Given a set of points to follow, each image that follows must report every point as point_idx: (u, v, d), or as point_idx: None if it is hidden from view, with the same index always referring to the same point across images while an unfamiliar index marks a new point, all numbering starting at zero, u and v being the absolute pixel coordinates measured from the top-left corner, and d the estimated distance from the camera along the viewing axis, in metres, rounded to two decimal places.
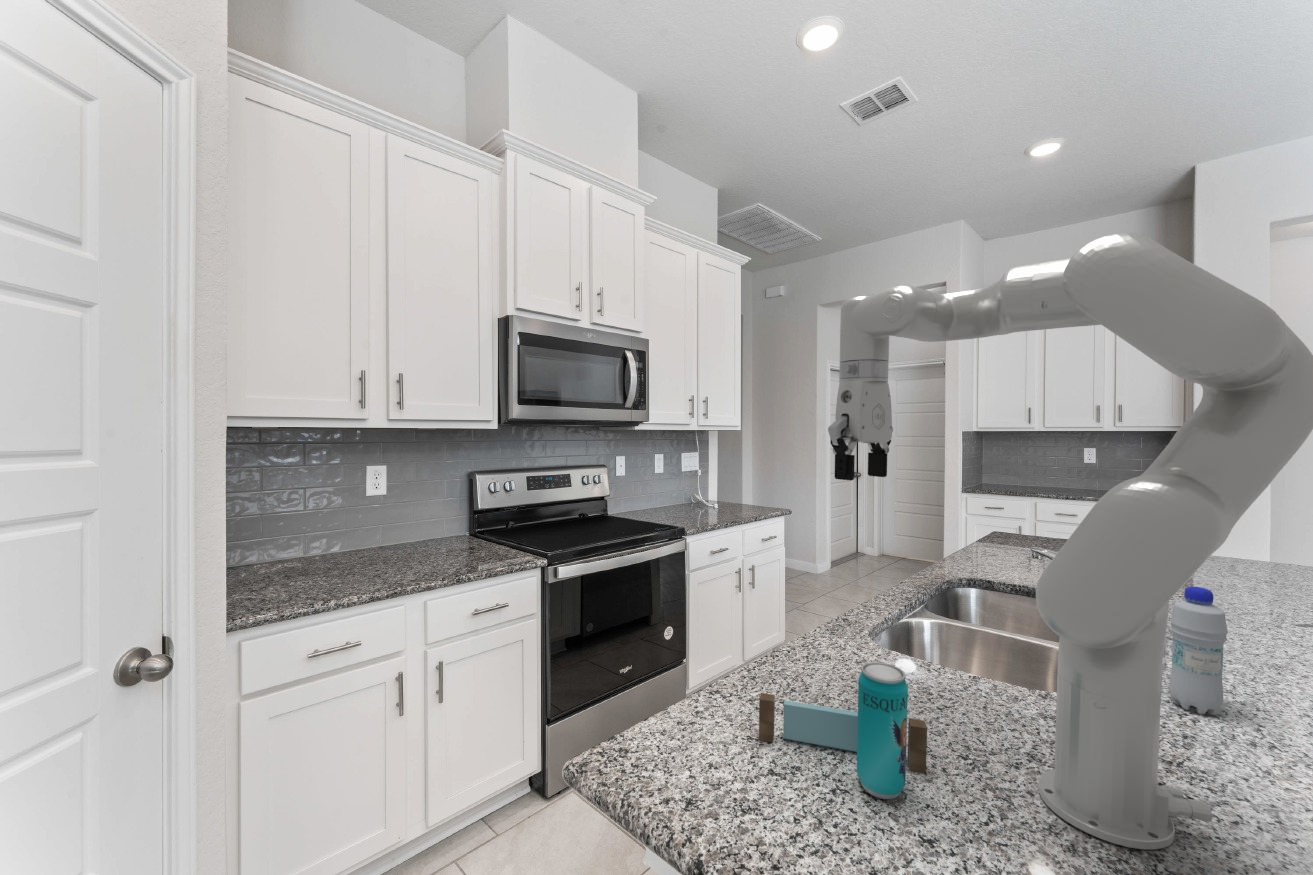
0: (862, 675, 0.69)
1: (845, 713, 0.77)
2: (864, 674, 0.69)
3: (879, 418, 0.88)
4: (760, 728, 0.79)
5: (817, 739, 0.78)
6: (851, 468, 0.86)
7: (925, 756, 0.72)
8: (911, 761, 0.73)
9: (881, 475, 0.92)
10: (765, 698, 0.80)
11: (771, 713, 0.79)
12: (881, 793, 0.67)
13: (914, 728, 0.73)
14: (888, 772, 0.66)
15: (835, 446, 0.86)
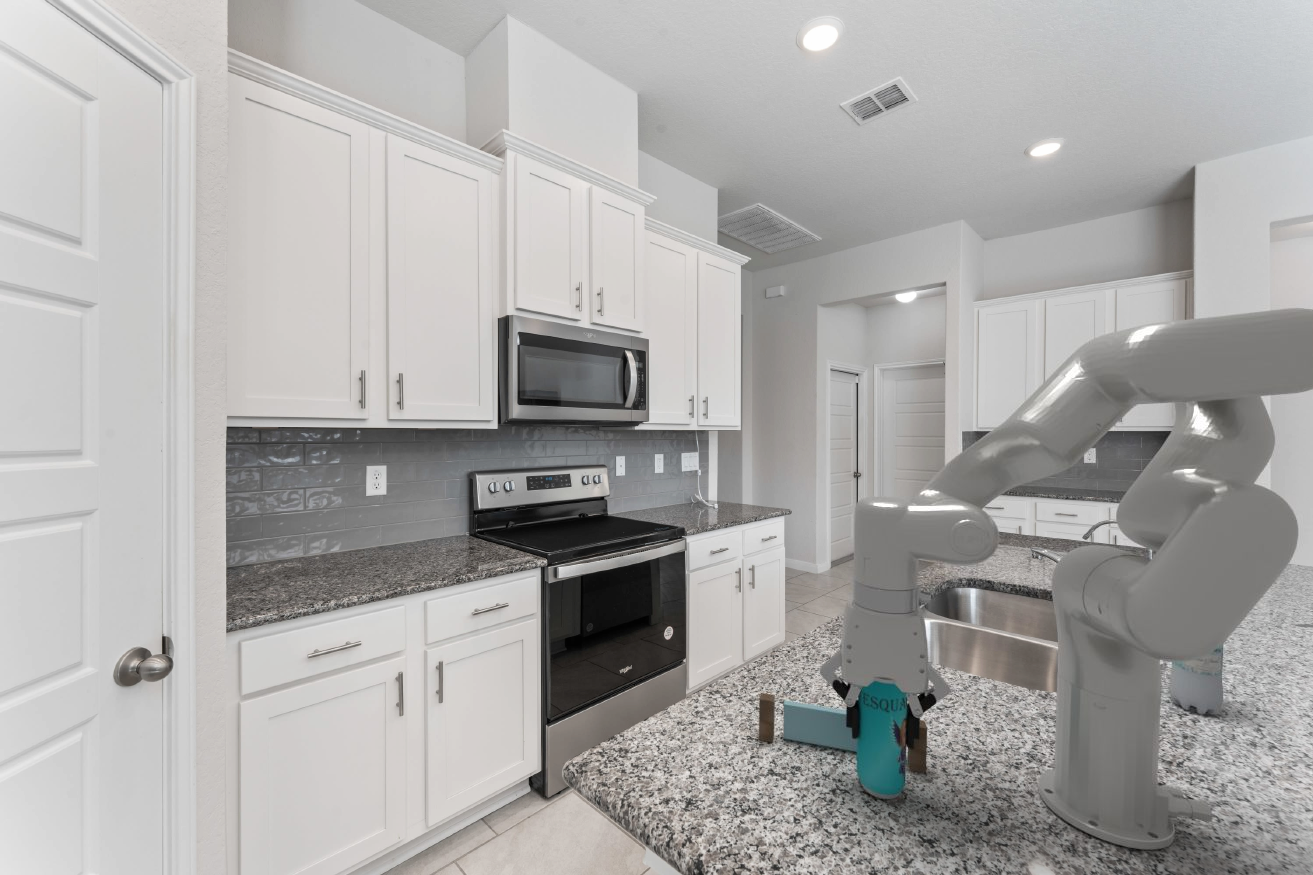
0: None
1: (845, 713, 0.77)
2: None
3: None
4: (760, 728, 0.79)
5: (817, 739, 0.78)
6: None
7: (925, 756, 0.72)
8: (911, 761, 0.73)
9: None
10: (765, 698, 0.80)
11: (771, 713, 0.79)
12: (881, 793, 0.67)
13: None
14: (888, 772, 0.66)
15: None
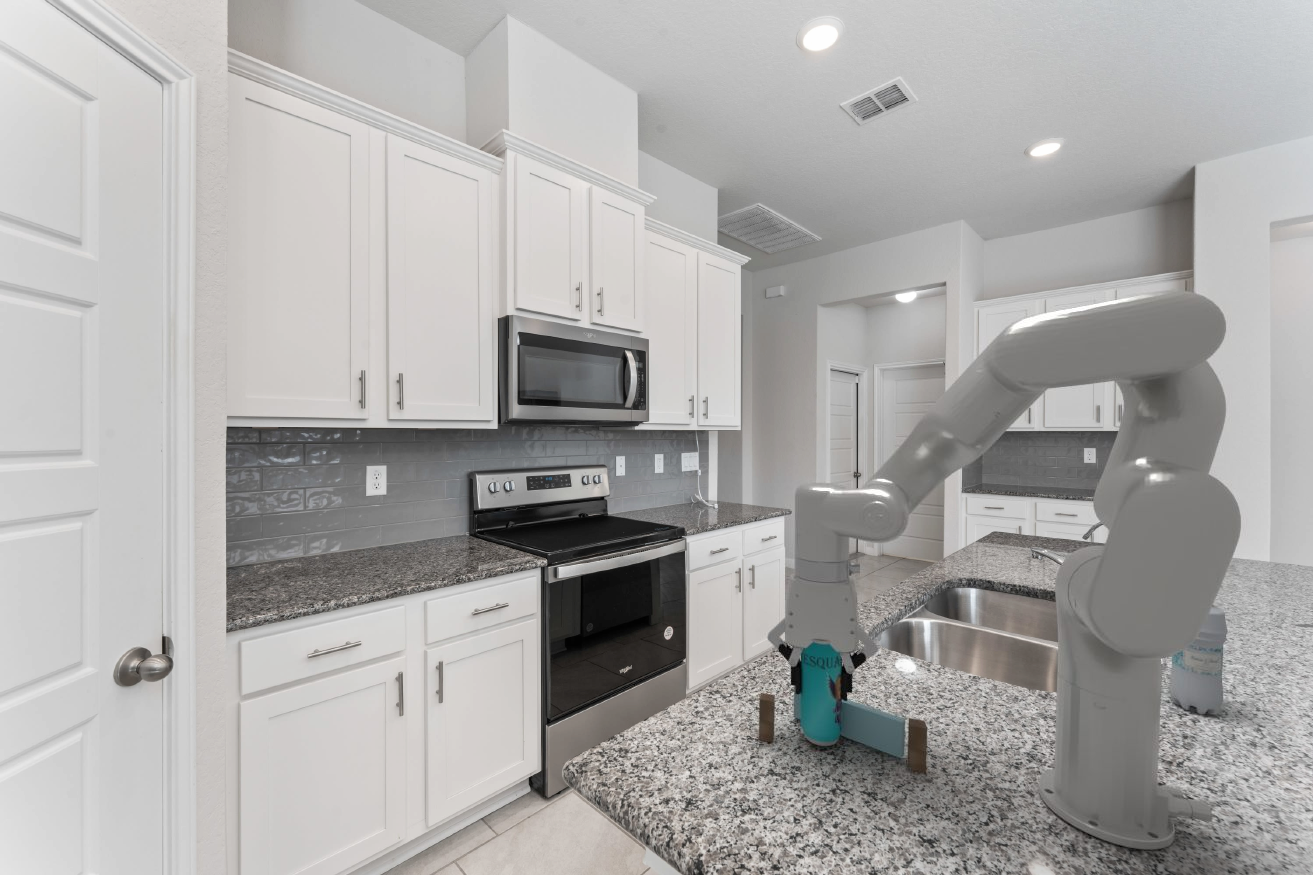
0: None
1: (848, 703, 0.80)
2: None
3: None
4: (760, 728, 0.79)
5: None
6: None
7: (925, 756, 0.72)
8: (911, 761, 0.73)
9: None
10: (765, 698, 0.80)
11: (771, 713, 0.79)
12: (820, 740, 0.77)
13: (914, 728, 0.73)
14: (825, 721, 0.76)
15: None
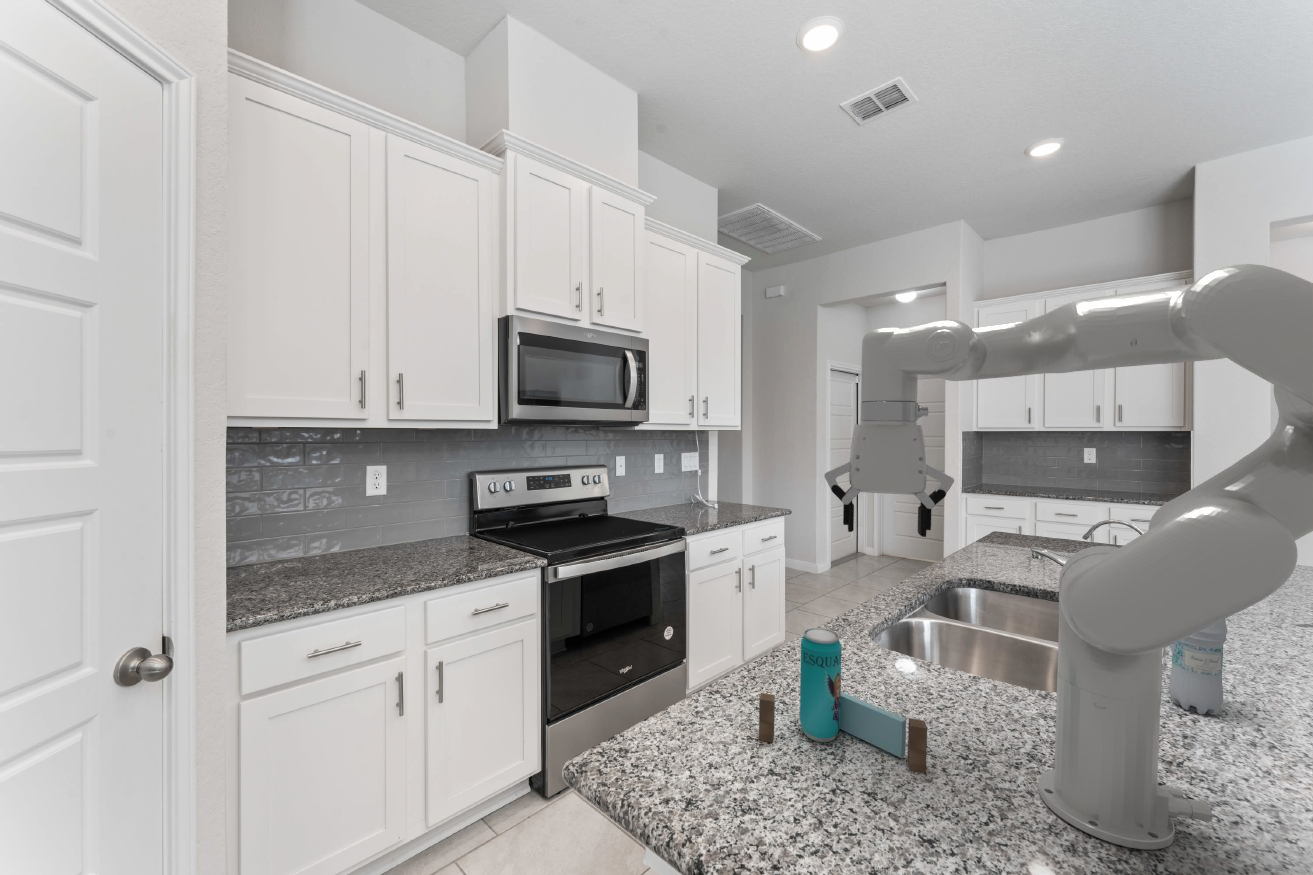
0: (803, 637, 0.81)
1: (852, 699, 0.81)
2: (805, 636, 0.81)
3: None
4: (760, 728, 0.79)
5: None
6: None
7: (925, 756, 0.72)
8: (911, 761, 0.73)
9: None
10: (765, 698, 0.80)
11: (771, 713, 0.79)
12: (818, 736, 0.79)
13: (914, 728, 0.73)
14: (824, 718, 0.78)
15: None
